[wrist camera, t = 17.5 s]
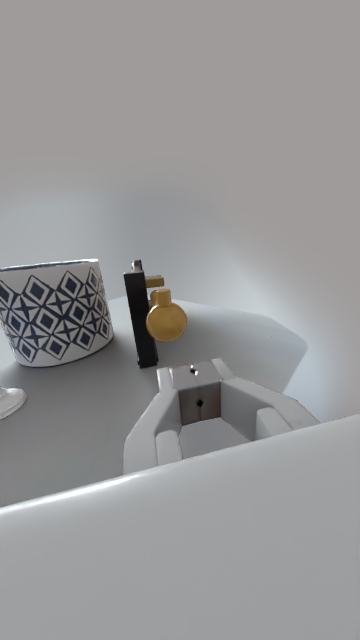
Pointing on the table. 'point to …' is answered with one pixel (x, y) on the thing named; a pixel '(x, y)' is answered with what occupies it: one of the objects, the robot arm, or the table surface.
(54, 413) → the table surface
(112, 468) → the table surface
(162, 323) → the bolt
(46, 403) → the table surface
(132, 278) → the gate frame
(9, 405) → the chess piece
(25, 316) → the planter
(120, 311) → the table surface
